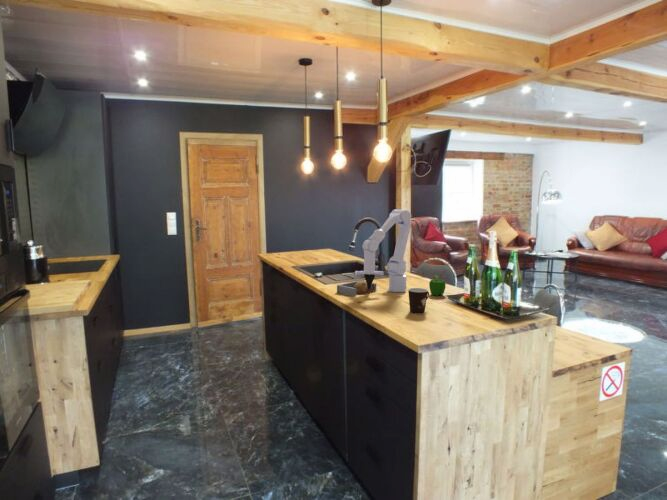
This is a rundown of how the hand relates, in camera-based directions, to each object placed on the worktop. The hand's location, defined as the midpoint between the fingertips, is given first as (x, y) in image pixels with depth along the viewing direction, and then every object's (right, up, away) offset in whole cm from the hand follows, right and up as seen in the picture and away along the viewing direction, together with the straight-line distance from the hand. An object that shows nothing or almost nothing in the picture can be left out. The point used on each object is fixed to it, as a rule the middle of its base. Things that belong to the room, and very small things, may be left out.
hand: (368, 288), depth 224 cm
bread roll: (-3, -3, +6) cm, 7 cm away
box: (-6, -2, +5) cm, 8 cm away
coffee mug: (+20, -8, -32) cm, 39 cm away
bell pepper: (+36, -4, 0) cm, 36 cm away
